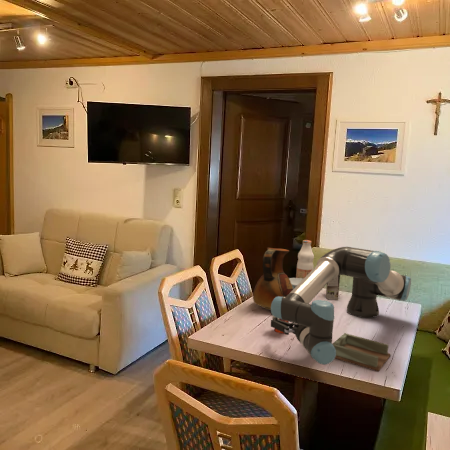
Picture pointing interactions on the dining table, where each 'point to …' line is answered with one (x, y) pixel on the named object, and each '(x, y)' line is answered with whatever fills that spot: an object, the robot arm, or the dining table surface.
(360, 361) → the bay
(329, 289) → the coffee box
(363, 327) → the dining table surface
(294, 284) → the chinaware
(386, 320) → the dining table surface
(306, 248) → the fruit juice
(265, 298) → the ceramic pitcher
